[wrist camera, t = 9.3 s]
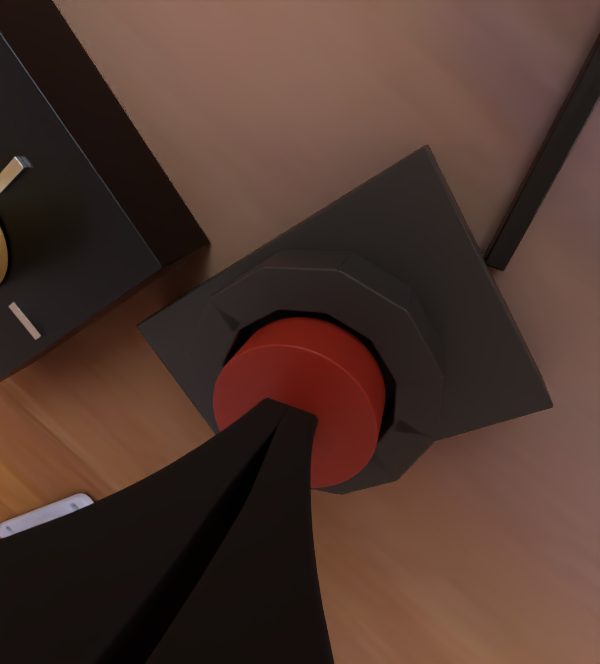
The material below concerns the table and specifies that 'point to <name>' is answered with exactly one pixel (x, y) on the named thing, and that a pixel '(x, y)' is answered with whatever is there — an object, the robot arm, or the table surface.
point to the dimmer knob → (3, 256)
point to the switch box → (372, 314)
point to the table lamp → (548, 161)
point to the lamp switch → (310, 390)
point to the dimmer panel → (73, 191)
